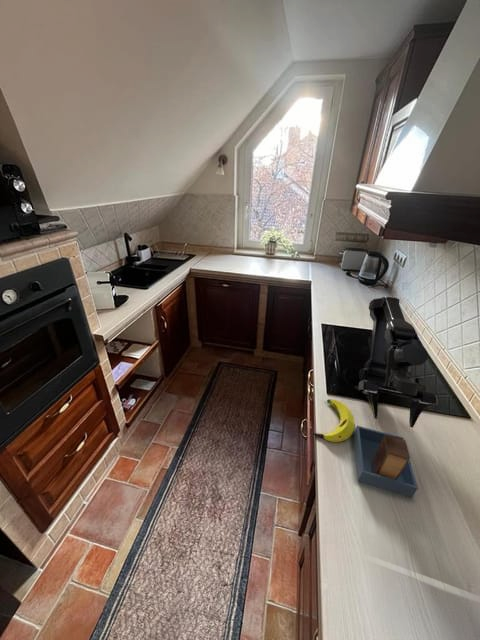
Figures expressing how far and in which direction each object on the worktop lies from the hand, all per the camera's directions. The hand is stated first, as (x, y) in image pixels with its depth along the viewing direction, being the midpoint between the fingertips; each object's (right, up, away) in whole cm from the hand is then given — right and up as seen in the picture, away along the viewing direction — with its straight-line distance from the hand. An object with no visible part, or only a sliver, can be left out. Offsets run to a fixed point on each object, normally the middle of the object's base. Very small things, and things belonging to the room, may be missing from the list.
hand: (393, 422), depth 71 cm
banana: (-12, -6, +16) cm, 21 cm away
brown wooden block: (-3, -15, 0) cm, 15 cm away
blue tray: (-2, -13, +3) cm, 14 cm away
